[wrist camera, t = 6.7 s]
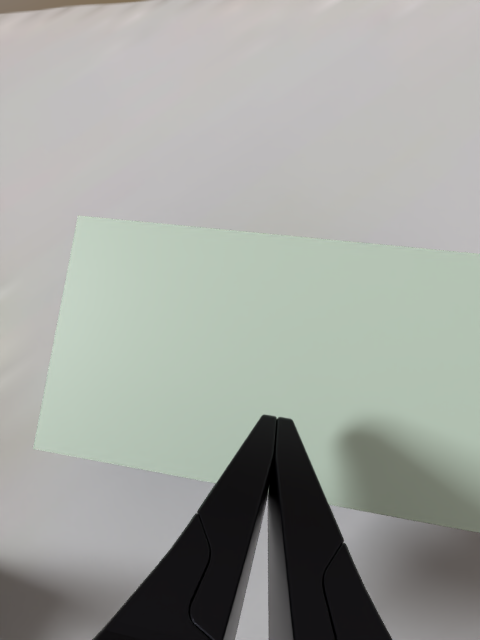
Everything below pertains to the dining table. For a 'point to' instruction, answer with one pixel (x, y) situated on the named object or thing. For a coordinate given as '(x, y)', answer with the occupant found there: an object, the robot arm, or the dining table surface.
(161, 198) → the dining table surface
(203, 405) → the cover
